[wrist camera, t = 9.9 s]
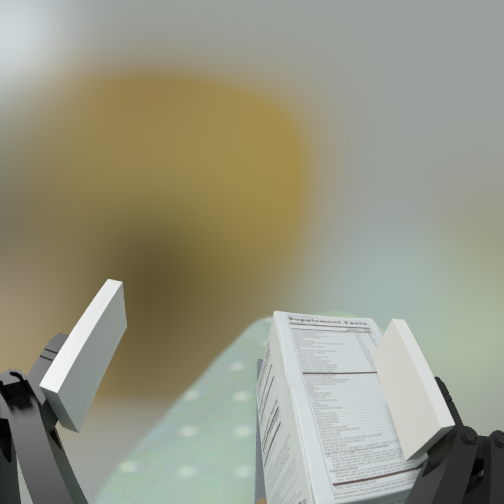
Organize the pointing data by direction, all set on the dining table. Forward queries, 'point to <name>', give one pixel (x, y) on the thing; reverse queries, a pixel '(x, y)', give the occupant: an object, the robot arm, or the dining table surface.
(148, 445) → the dining table surface
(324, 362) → the supplement box
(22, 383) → the robot arm
